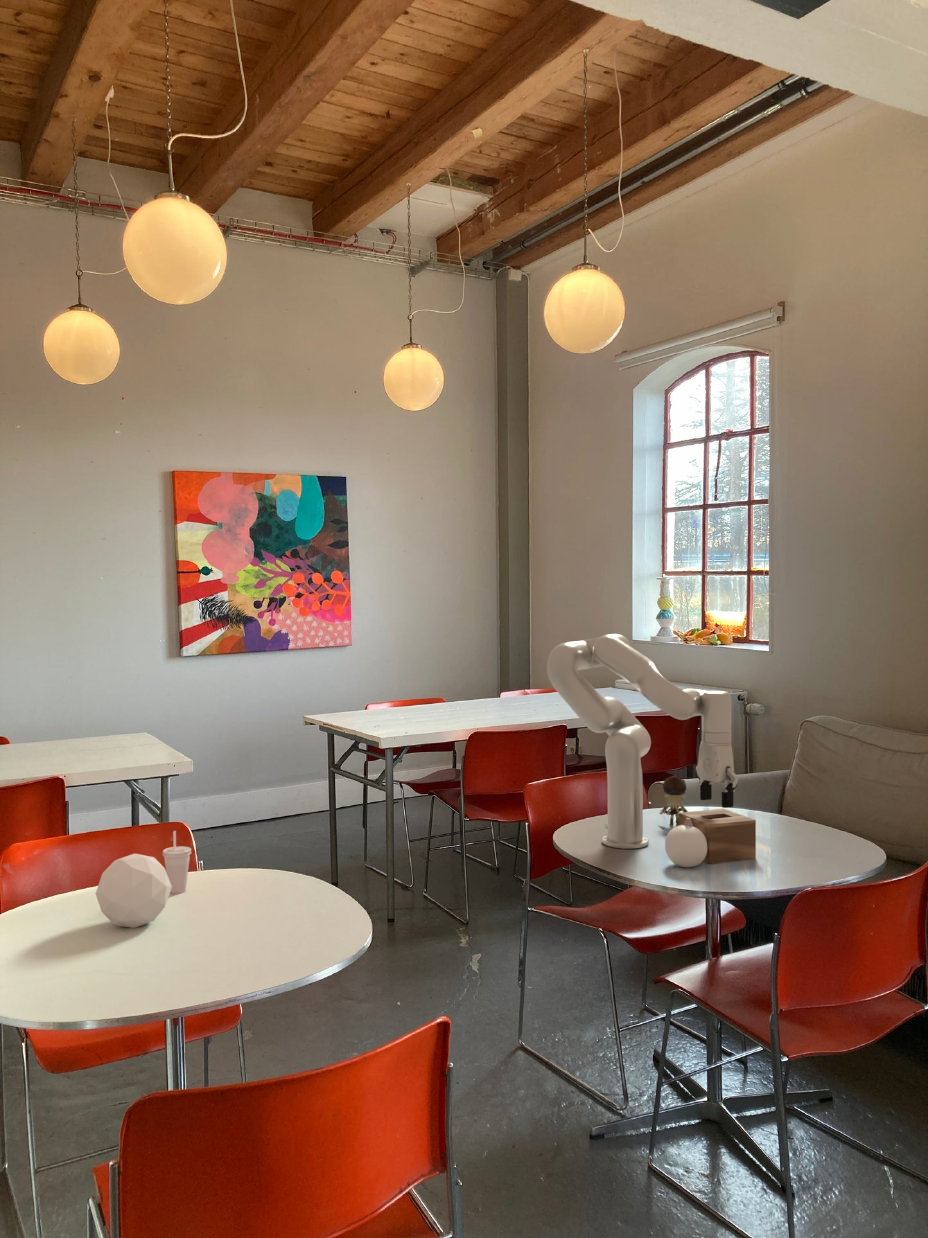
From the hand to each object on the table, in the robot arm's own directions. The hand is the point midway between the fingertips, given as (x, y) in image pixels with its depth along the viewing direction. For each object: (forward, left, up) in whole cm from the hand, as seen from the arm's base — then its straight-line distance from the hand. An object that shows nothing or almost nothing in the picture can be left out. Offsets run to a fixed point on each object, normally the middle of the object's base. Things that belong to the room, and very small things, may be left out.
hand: (716, 803), depth 240 cm
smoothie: (-17, -135, -14) cm, 137 cm away
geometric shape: (+2, -144, -14) cm, 145 cm away
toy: (-31, +7, -14) cm, 35 cm away
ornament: (+7, -14, -14) cm, 20 cm away
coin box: (0, 0, -13) cm, 13 cm away
